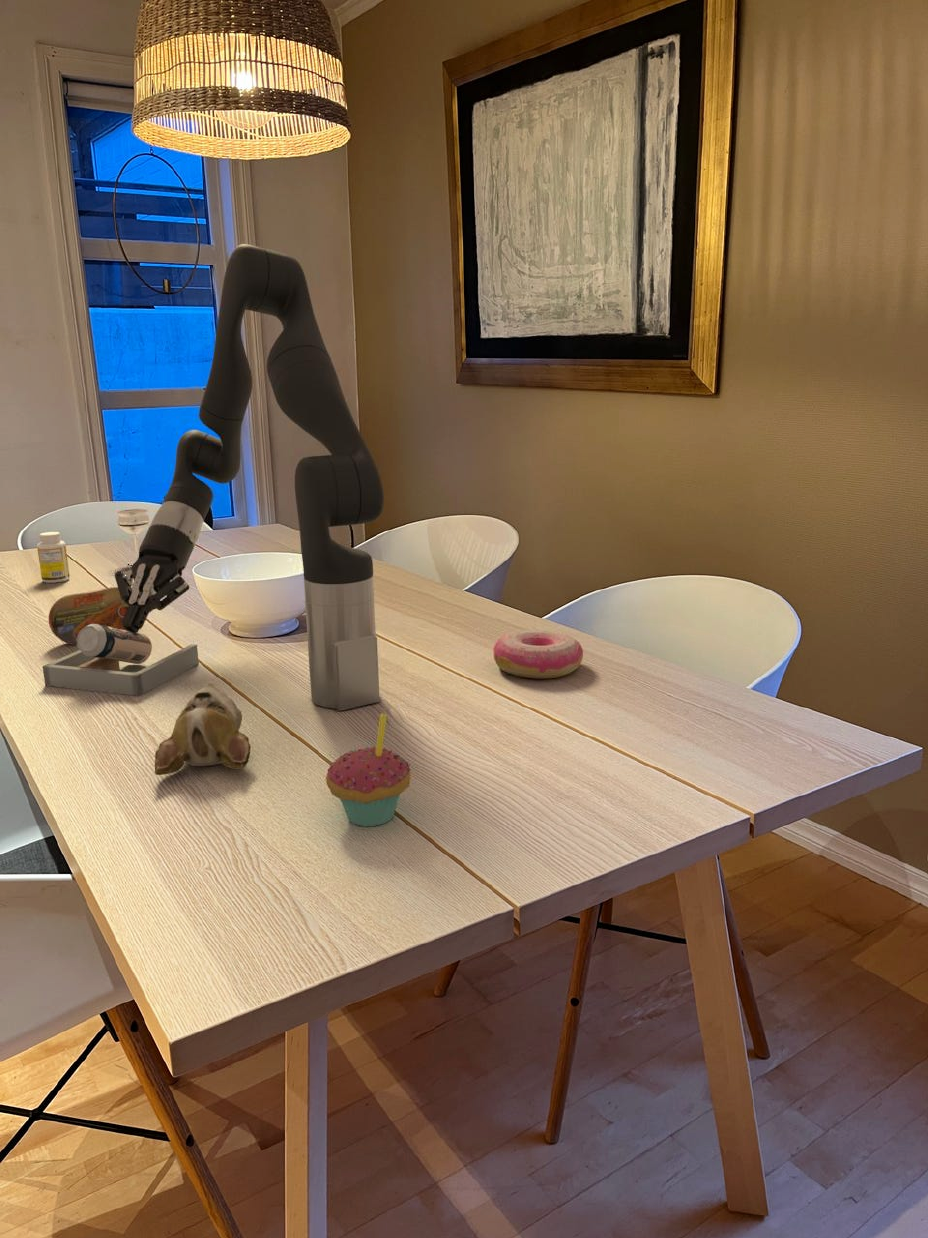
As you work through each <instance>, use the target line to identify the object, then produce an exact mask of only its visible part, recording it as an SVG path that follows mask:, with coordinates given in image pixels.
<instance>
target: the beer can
mask: <svg viewBox="0 0 928 1238" xmlns="http://www.w3.org/2000/svg"><path fill="white" fill-rule="evenodd" d="M76 640H77V645H76V646H77V648H78V649H79V650H81V652H82V653H83V654H84V655H86V656H90V657H97V658H103V659H110V660H119V662H123V663H129V664H135V665H141V664H143V663H145V662H146V661H148V659H149V658H150V655H151V654H152V648H153V647H152V642H151V639H150V638H149V637H148V636H147V634H144V633H141V632H132V631H127V630H122V629H117V628H113V627H108V626H103V625H98V624H90V625H88V626H85V627H84V628H83V629H82V630H80V631H79V634H78V636H77V639H76Z"/></svg>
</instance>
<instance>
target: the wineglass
mask: <svg viewBox="0 0 928 1238" xmlns="http://www.w3.org/2000/svg"><path fill="white" fill-rule="evenodd" d="M148 512H149V510H148V509H146V508H145V509H142V508H136V509H124V510H123V509H122V510H120V511H117V515H118V518H117V523H118V526H119V528H120V529H121V530H122V531H124V532H125V533H127V534H130V535H131V536H132V537H133V542H134V543H133V544H134V548H135V555H136V559H135V560H133V561H130V562H131V563H133V564H134V563H135V562H136V561H137V559H138V557H139V545H138V543H139V540H138V537H139V535H140V534H141V533H143V532H144V531H145V530H146V529H147V528H149V527H148V526H149V525H150V517H149V516H148V515H147V514H148Z"/></svg>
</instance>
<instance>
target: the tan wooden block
mask: <svg viewBox="0 0 928 1238" xmlns="http://www.w3.org/2000/svg"><path fill="white" fill-rule="evenodd" d="M78 667H81V668H91V669H101V670H111V671H121V668H120V661H119V660H110V659H101V658H95V659H93V660H91V661H88V662H86V663H84V664H82V665H79V666H78Z"/></svg>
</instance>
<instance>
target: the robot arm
mask: <svg viewBox="0 0 928 1238" xmlns="http://www.w3.org/2000/svg"><path fill="white" fill-rule="evenodd" d="M222 282H223V283H222V288H221V289H222V290H221V297H220V303H219V311H218V316H217V325H216V331H215V332H216V333H215V340H214V349H213V355H212V361H211V367H210V370H209V375H208V379H207V382H206V386H205V388H204V393H203V396H202V400H201V403H200V407H199V410H198V418H199V421H200V422H201V423H202V424H203V425H204V426H206V428H208V429H209V430H211V431H212V432H213V433H215V434H216V435H217V436H218V437H216V436H213V435H211V434H208V433H206V432H203V431H200V430H198V429H192V430H188V431H186V432H184V433H183V434H182V435H181V437H180V438H179V440H178V442H177V445H176V446H177V447H176V452H175V453H176V454H175V465H174V466H175V467H174V473H173V477H172V480H171V483H170V486H169V489H168V491H167V493H166V495H165V497H164V499H163V501H162V503H161V505H160V507H159V508H158V510H157V511H156V513H155V515H154V516H153V519H152V521H151V523H150V524H149V527H148V529H147V531H146V533H145V535H144V538H143V540H142V542H141V544H140V546H139V547H138V555H139V557H138V559H137V558H136V560H137V561H136V562H135V563H134V564H133V565H132V566H131V567H130V569H129V570H127V571H125V572H122V571H120V570H118V571H116V572H114V578H115V582H116V587H118V590H119V593H120V597H121V599H122V600H123V601H124V602H125V603H126V604H127V605H128V606H129V607H128V609H127V611H126V614H125V616H124V618H123V620H122V624H123V627H124V628H125V629H126V630H127V631H132V632H136V633H139V631H140V630H141V629H142V628H143V627H144V626H145V622H146V620H147V617H148V615H149V614H150V613H152V612H153V610H158V611H163V610H164V609H165V608H166V607H167V606H169V605H170V604H172V603H173V602H174V601H176V600H177V599H178V598H180V597H181V596H182V595H183V594H185V593H186V592H187V591H189V590H190V585H189V584H188V582H187V581H186V580H185V579H184V578H183V577H182V576H183V571H184V570H185V569H186V566H187V565H188V562H189V560H190V557H191V556H192V552H193V551H194V548H195V546H196V544H197V542H198V539H199V538H200V534H201V531H202V527H203V524H204V521H205V519H206V516H207V514H208V512H209V510H210V508H211V506H212V504H213V501H214V492H213V490H212V488H211V487H210V486H209V485H208V484H207V483H205V481H203V480H201V479H200V478H198V477H197V476H199V477H203V478H204V479H207V480H209V481H212V482H214V483H217V484H221V485H224V484H228V483H230V482H232V481H233V480H234V479H235V478H236V477H237V475H238V473H239V471H240V468H241V460H242V459H241V433H242V424H243V421H244V418H245V415H246V412H247V409H248V405H249V402H250V399H251V395H252V391H253V375H252V370H251V365H250V362H249V360H248V356H247V354H246V350H245V346H244V342H243V338H242V337H243V336H242V324H243V319H244V315H245V312H246V311H250V312H255V313H260V314H264V315H269V316H273V317H275V318H276V319H278V320H279V321H280V324H281V325H282V328H283V330H282V331H281V333H280V334H279V335H278V337H277V338H276V339H275V341H274V342H273V345H272V347H271V348H270V350H269V352H268V355H267V360H266V372H267V375H268V376H267V377H268V380H269V382H270V385H271V389H272V391H273V395H274V398H275V401H276V403H277V405H278V407H279V408H280V410H281V411H282V413H283V414H284V415H286V417H287V418H288V419H289V420H291V422H293V423H294V424H295V425H297V426H298V427H299V428H300V429H302V430H303V431H305V433H307V434H308V435H310V437H312V438H314V439H315V440H317V441H318V442H319V443H320V444H321V445H323V447H325V448H326V449H327V450H328V452H329V453H330V454H328V455H313V456H312V455H311V456H306V457H305V456H304V457H302V458H301V459H300V460H299V461H298V463H297V465H296V467H295V472H294V494H295V504H296V511H297V519H298V527H299V528H298V529H299V537H300V538H299V539H300V541H299V542H300V550H301V552H300V554H301V559H302V560H301V561H302V566H303V567H302V568H303V584H304V585H303V586H304V599H305V601H304V604H305V618H306V619H305V621H306V635H307V637H306V638H307V651H308V652H307V653H308V667H309V678H310V679H309V682H310V696H311V697H310V699H311V701H312V703H313V704H315V705H317V706H320V707H323V708H329V709H335V710H337V711H347V710H349V709H353V708H358V707H363V706H366V705H371V704H376V703H379V702H380V682H379V680H380V678H379V677H380V675H379V657H378V656H379V655H378V651H379V650H378V637H377V635H376V614H375V611H376V610H375V607H376V606H375V587H374V583H375V582H374V561H373V558H372V555H371V554H369V553H368V552H366V551H364V550H362V549H357V548H355V547H349V546H347V545H343V544H341V543H338V542H336V541H335V540H333V539H332V538H331V533H330V528H331V527H332V528H333V527H342V526H343V527H344V526H352V525H353V526H354V525H361V524H368V523H371V522H374V521H375V520H378V518H379V517H380V516H381V515H382V512H383V511H384V504H385V494H384V486H383V482H382V481H383V480H382V479H381V475H380V472H379V469H378V466H377V464H376V462H375V459H374V458H373V455H372V453H371V451H370V449H369V448H368V446H367V444H366V442H365V439H363V436H362V434H361V432H360V430H359V428H358V427H357V425H356V422H355V420H354V418H353V416H352V413H351V410H350V409H349V405H348V404H347V401H346V398H345V396H344V392H343V389H342V386H341V382H340V380H339V378H338V373H337V371H336V369H335V366H334V363H333V362H332V359H331V357H330V354H329V352H328V350H327V347H326V344H325V342H324V339H323V337H322V334H321V331H320V328H319V325H318V322H317V319H316V315H315V311H314V309H313V303H312V299H311V295H310V291H309V286H308V282H307V279H306V275H305V273H304V270H303V267H302V265H301V264H300V262H299V261H298V260H297V259H296V258H295V257H292V256H291V255H288V254H285V253H281V252H278V251H276V250H275V251H274V250H271V249H267V248H264V247H260V246H257V245H252V244H248V243H247V244H246V243H242V244H239V245H238V246H236V247H235V249H234V250H233V251H232V252H231V254H230V256H229V259H228V261H227V265H226V269H225V274H224V278H223V281H222Z"/></svg>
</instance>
